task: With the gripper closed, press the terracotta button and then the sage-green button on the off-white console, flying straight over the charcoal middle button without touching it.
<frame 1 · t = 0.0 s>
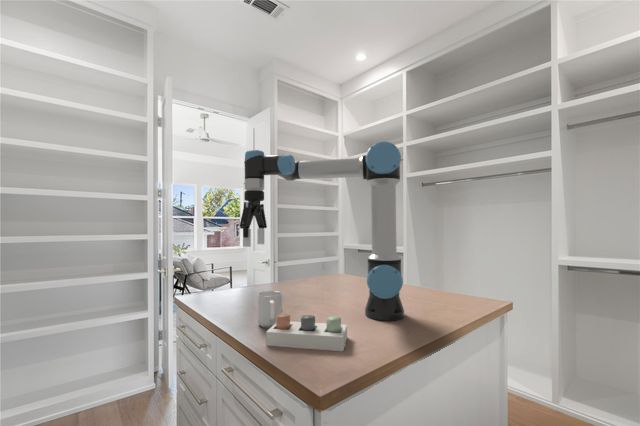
hand: (254, 245, 119), 28 cm above the counter, fingers open, 13 cm apart
console: (308, 341, 95), on the counter
button terracotta: (283, 322, 97), point 5 cm above the counter, slide at 0.0 cm
button charcoal: (308, 323, 95), point 5 cm above the counter, slide at 0.0 cm
button sage: (333, 325, 94), point 5 cm above the counter, slide at 0.0 cm
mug: (270, 326, 110), on the counter
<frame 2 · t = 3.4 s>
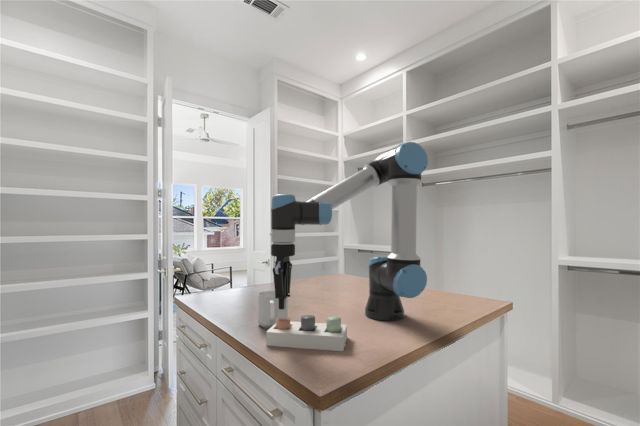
hand: (282, 318, 97), 6 cm above the counter, fingers closed
button terracotta: (283, 326, 97), point 4 cm above the counter, slide at 1.2 cm, touching gripper
everything else where it was.
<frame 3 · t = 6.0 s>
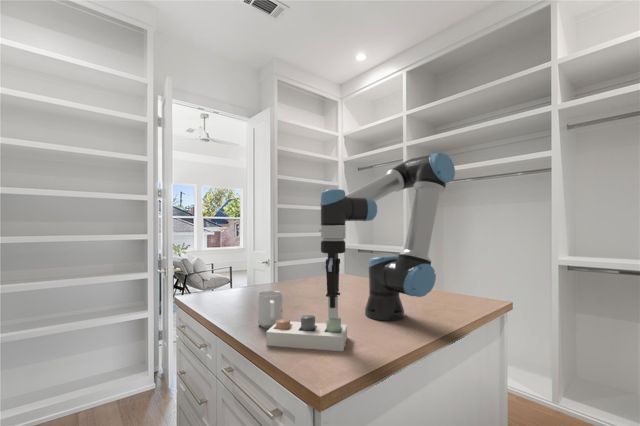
hand: (333, 317, 94), 8 cm above the counter, fingers closed
button terracotta: (283, 328, 97), point 4 cm above the counter, slide at 1.7 cm
button sage: (333, 325, 94), point 5 cm above the counter, slide at 0.0 cm, touching gripper
everything else where it was.
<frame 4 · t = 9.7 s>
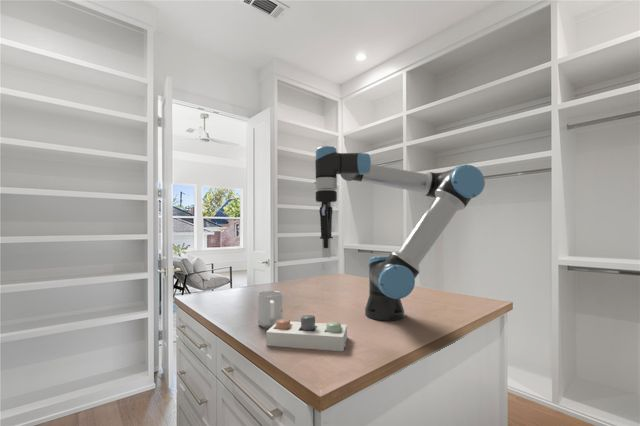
hand: (326, 257, 109), 24 cm above the counter, fingers closed
button sage: (333, 331, 94), point 4 cm above the counter, slide at 1.8 cm
everything else where it was.
at the end: button terracotta slide at 1.7 cm; button sage slide at 1.8 cm; button charcoal slide at 0.0 cm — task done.
